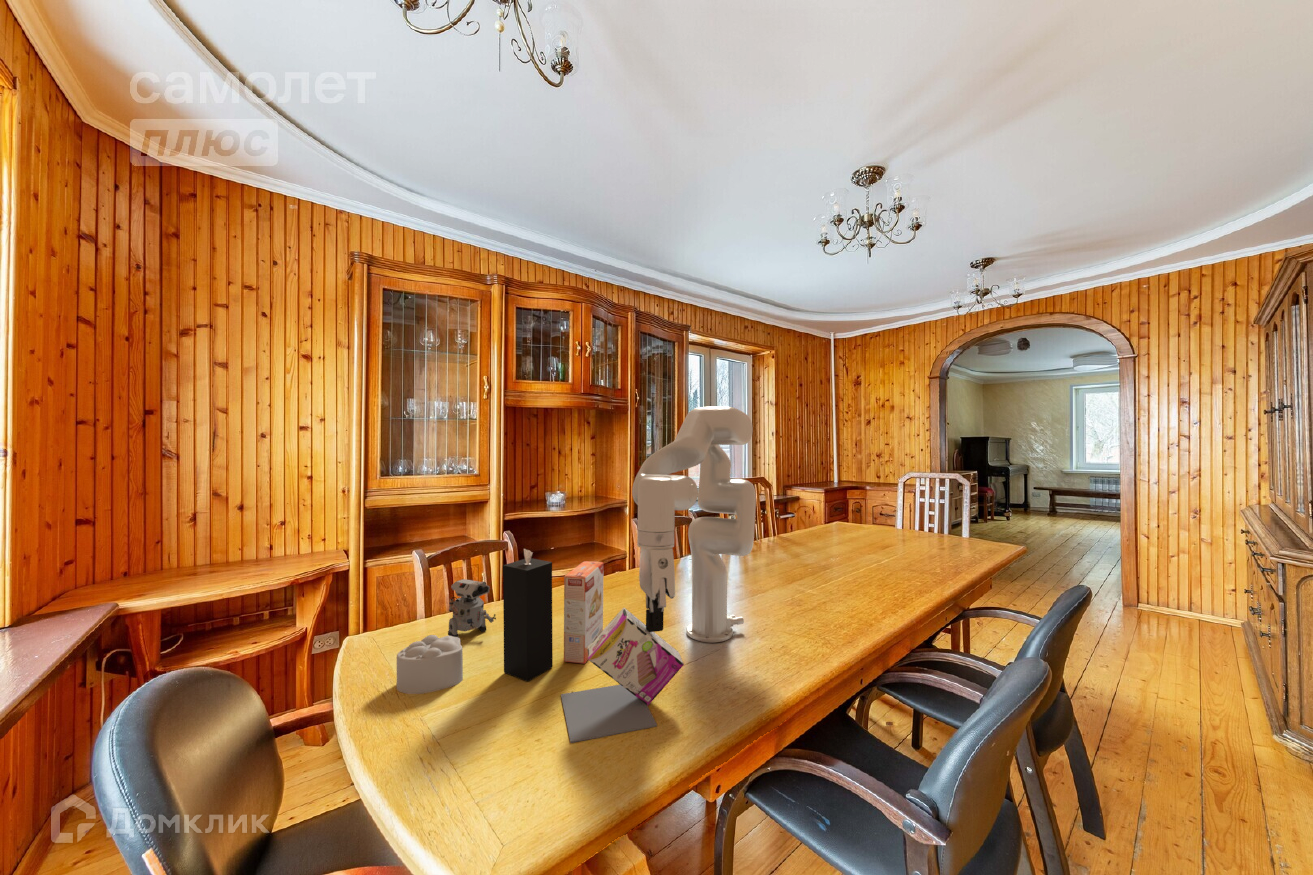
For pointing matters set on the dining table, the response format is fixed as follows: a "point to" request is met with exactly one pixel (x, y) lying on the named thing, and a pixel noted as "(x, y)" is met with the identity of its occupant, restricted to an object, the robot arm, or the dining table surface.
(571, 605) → the cracker box
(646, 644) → the candy bar box
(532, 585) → the black tall square box
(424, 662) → the lumpy-topped squat cylinder
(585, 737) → the felt mat
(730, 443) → the robot arm
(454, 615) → the figurine
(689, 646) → the dining table surface
